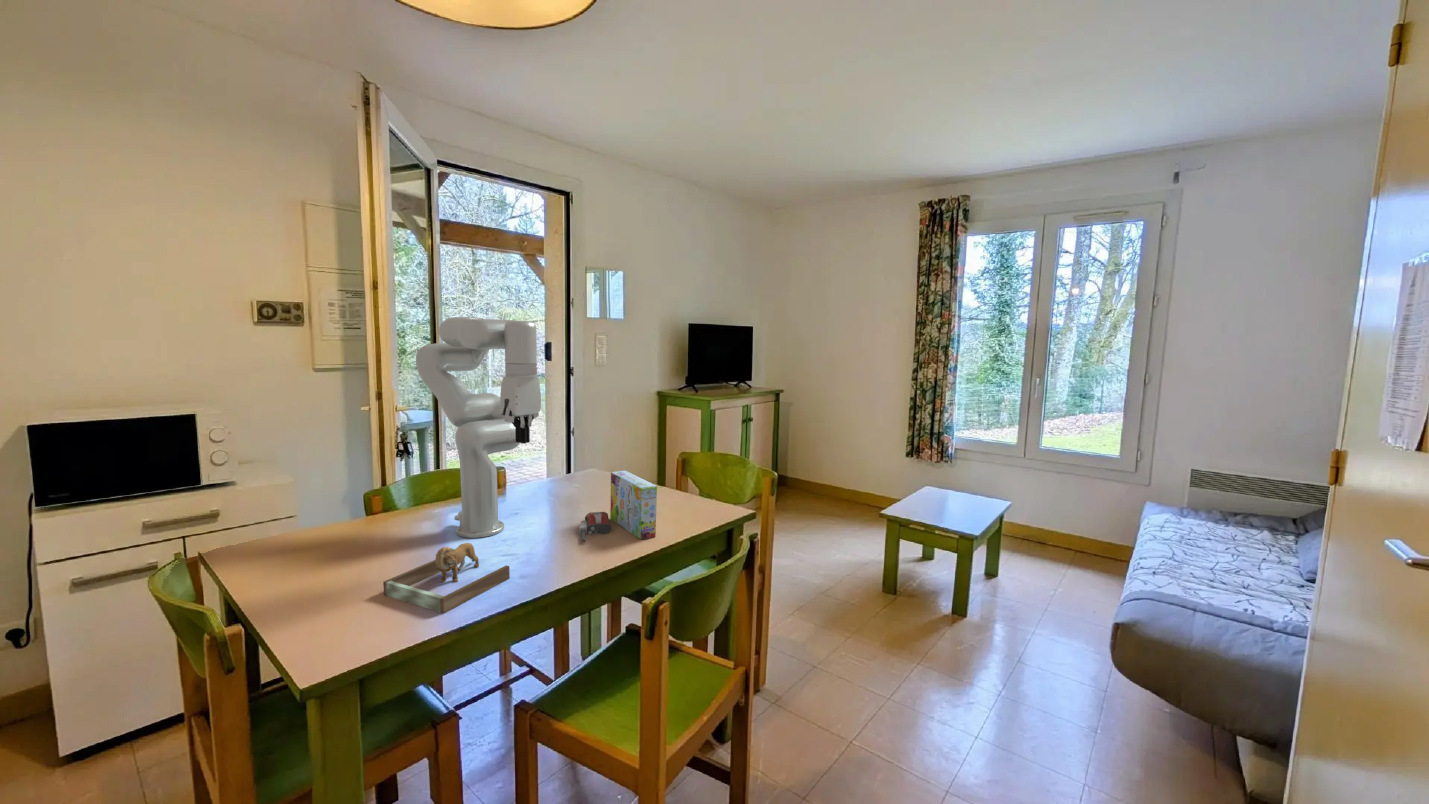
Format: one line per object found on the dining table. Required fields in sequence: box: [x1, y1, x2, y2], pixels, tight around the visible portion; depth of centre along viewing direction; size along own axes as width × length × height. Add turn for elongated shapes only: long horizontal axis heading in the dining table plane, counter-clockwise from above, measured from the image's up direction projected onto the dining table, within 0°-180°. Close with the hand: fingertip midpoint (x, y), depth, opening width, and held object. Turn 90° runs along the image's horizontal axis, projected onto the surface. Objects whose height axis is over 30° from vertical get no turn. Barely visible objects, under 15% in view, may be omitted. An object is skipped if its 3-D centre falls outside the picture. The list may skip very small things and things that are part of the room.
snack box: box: [609, 470, 658, 540], centre depth 163 cm, size 21×6×15 cm, turn 34°
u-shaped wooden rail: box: [383, 559, 511, 614], centre depth 124 cm, size 18×18×3 cm
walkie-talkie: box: [578, 511, 611, 543], centre depth 160 cm, size 9×4×20 cm
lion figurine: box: [434, 542, 480, 583], centre depth 129 cm, size 15×5×9 cm, turn 178°
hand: (522, 442), depth 141 cm, fingers closed
